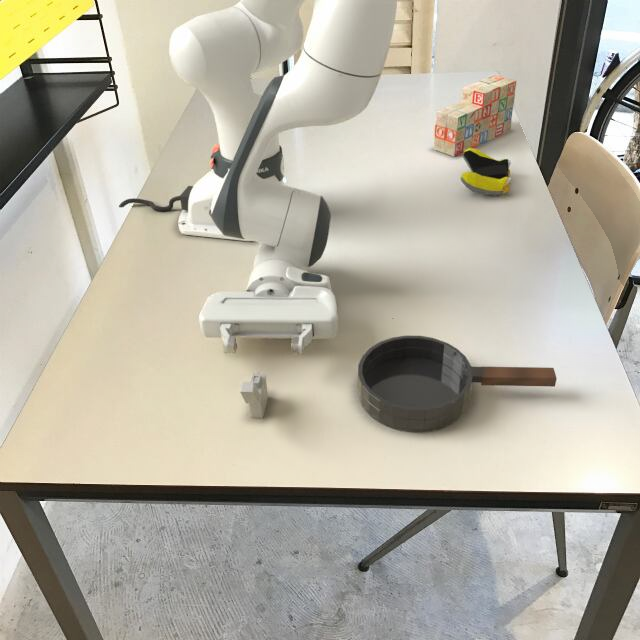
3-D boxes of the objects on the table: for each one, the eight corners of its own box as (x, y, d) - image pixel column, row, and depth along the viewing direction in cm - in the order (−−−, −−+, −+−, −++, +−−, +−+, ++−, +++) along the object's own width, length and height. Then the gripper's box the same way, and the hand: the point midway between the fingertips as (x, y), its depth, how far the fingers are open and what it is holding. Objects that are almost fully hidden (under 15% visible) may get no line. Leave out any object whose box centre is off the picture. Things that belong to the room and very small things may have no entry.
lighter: (256, 396, 96) (250, 351, 92) (268, 396, 96) (263, 352, 91) (246, 433, 91) (239, 387, 86) (259, 434, 91) (253, 388, 86)
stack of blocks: (454, 157, 157) (458, 103, 150) (433, 150, 161) (436, 97, 154) (510, 130, 168) (517, 79, 161) (489, 124, 172) (494, 74, 165)
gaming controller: (458, 200, 141) (509, 203, 139) (460, 175, 137) (513, 177, 135) (461, 169, 152) (508, 171, 150) (463, 145, 149) (512, 147, 147)
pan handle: (470, 385, 93) (471, 376, 92) (469, 374, 95) (470, 365, 94) (555, 386, 92) (557, 378, 91) (551, 375, 94) (553, 367, 93)
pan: (356, 431, 90) (356, 408, 88) (359, 356, 103) (359, 334, 100) (475, 433, 89) (478, 411, 87) (464, 357, 101) (466, 336, 99)
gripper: (205, 276, 106) (185, 331, 95) (339, 276, 105) (334, 332, 94) (211, 309, 110) (192, 366, 99) (340, 310, 108) (336, 368, 97)
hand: (262, 350), depth 96 cm, fingers open, 8 cm apart
